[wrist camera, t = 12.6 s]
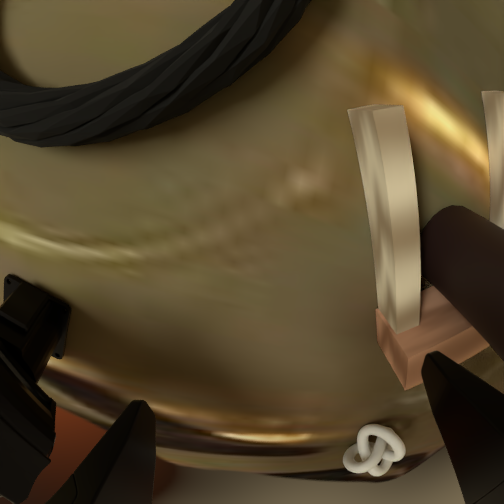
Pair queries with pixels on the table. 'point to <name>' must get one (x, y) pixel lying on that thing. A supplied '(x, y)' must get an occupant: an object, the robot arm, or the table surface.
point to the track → (414, 240)
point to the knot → (374, 450)
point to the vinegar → (468, 268)
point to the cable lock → (149, 81)
